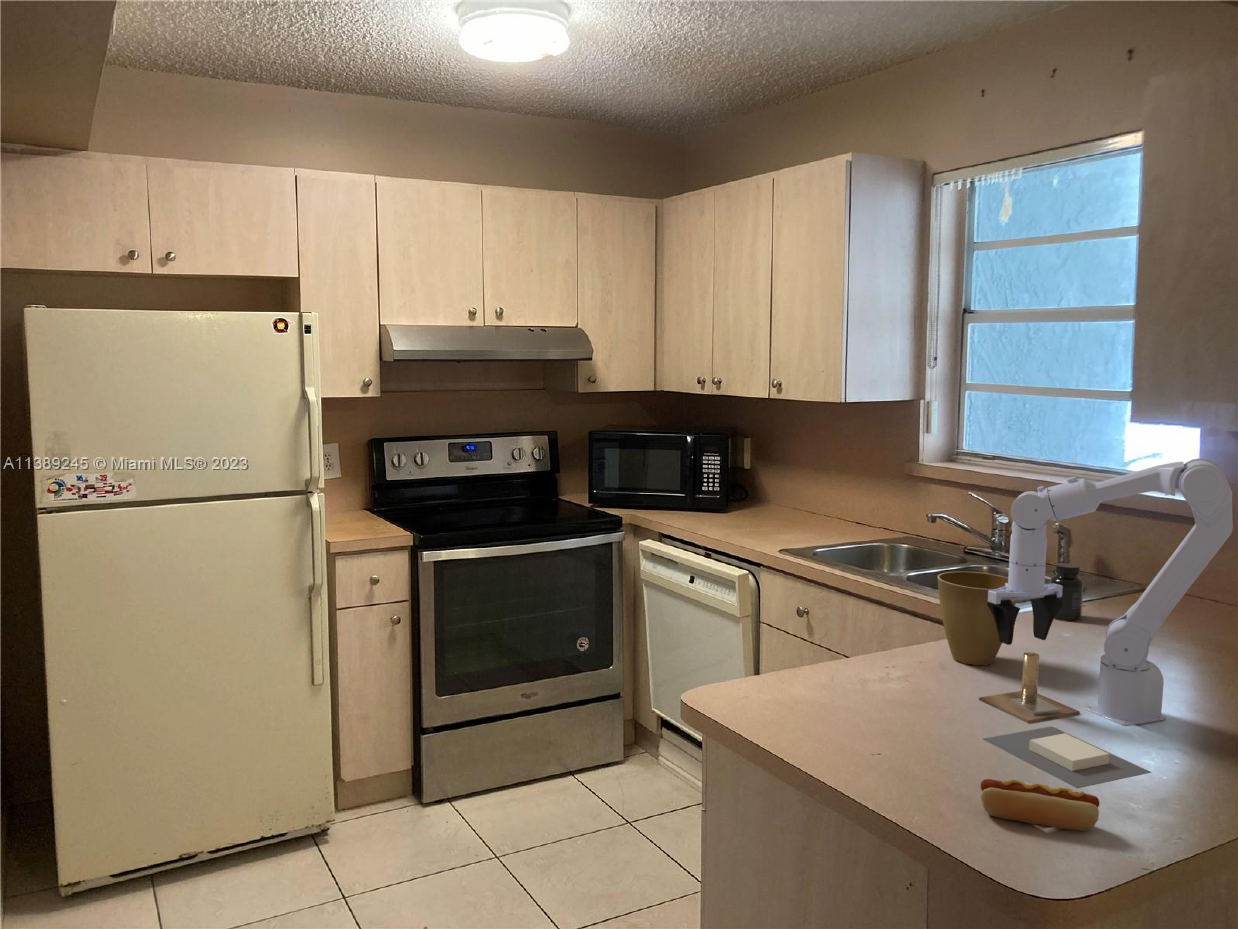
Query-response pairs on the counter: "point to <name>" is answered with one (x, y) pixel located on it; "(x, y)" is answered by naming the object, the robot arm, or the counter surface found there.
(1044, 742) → the tile
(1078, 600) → the supplement bottle
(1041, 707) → the stamp with brass handle
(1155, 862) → the counter surface
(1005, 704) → the board
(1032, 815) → the food
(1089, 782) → the mat
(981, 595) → the plant pot
